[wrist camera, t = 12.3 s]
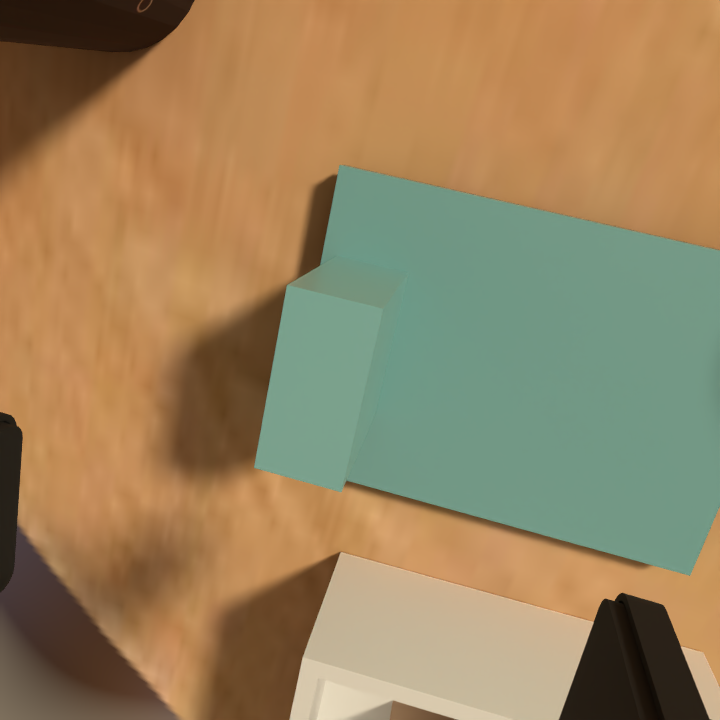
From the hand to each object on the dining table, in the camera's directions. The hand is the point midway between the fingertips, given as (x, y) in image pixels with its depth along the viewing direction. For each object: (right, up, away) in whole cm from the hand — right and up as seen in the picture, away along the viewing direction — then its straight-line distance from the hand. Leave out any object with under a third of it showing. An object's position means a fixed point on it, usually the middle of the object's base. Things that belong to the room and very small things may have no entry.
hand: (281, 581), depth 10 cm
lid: (+7, +3, +12) cm, 14 cm away
